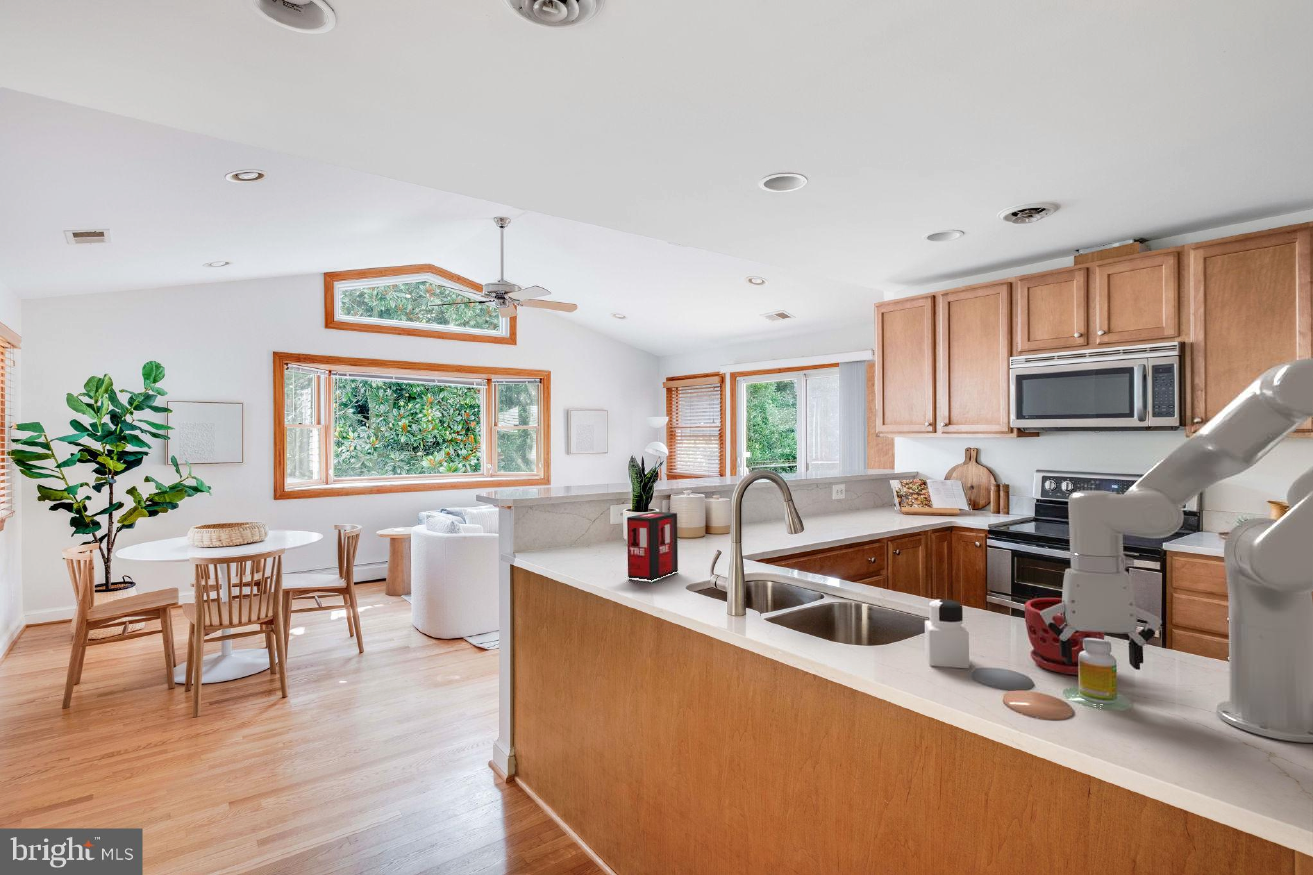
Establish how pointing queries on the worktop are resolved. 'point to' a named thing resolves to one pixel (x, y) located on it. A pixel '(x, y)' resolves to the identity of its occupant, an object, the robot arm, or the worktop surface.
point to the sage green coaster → (1119, 705)
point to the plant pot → (1053, 638)
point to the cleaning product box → (652, 545)
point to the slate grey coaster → (1002, 679)
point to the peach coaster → (1037, 705)
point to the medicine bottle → (946, 635)
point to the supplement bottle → (1097, 672)
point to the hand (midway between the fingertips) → (1100, 664)
